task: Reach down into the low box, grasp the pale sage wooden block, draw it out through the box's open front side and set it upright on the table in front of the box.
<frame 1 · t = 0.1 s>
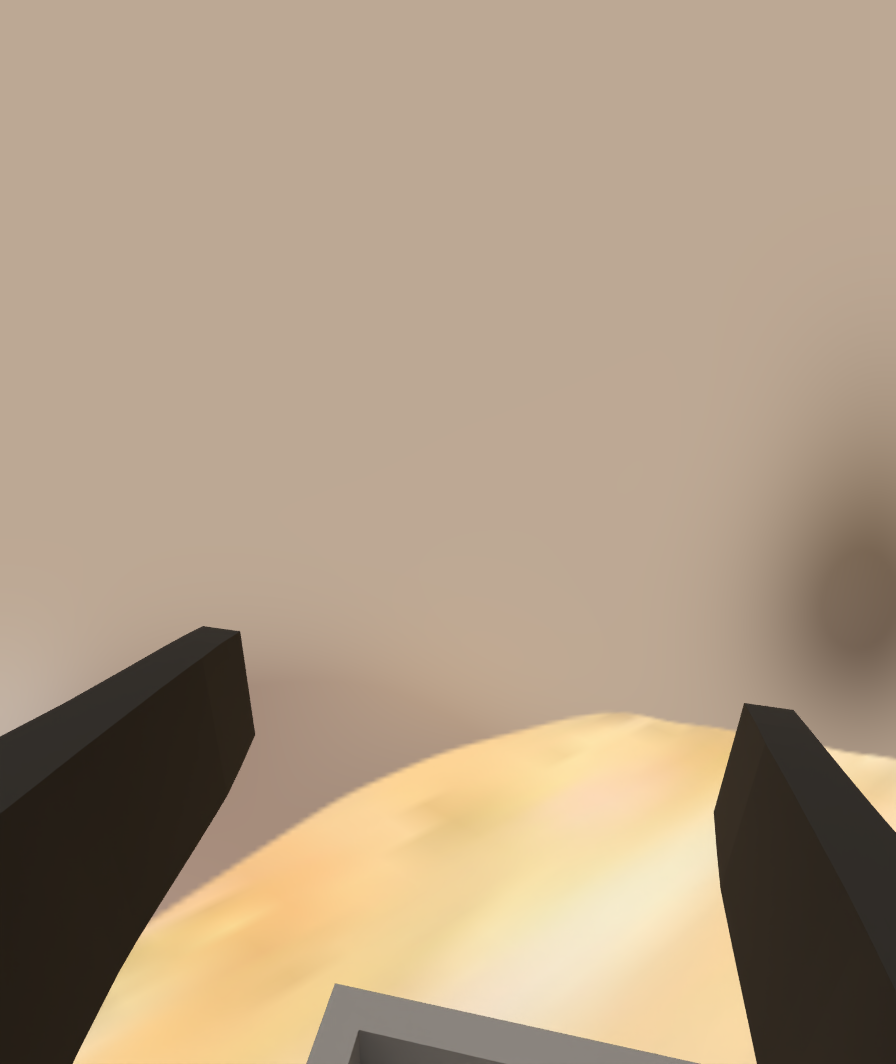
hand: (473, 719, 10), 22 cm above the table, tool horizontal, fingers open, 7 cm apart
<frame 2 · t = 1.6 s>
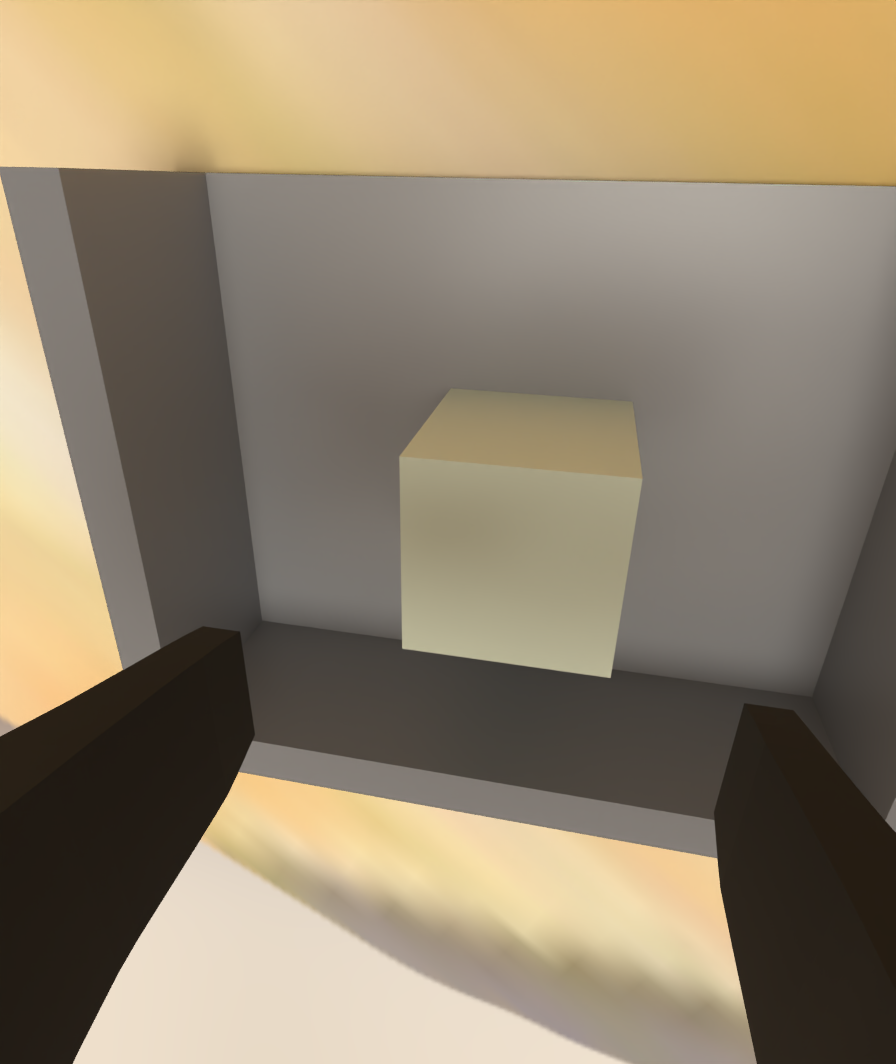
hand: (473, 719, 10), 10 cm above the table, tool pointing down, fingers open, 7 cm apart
open box: (534, 470, 19), on the table
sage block: (532, 478, 18), point 1 cm above the table, touching open box
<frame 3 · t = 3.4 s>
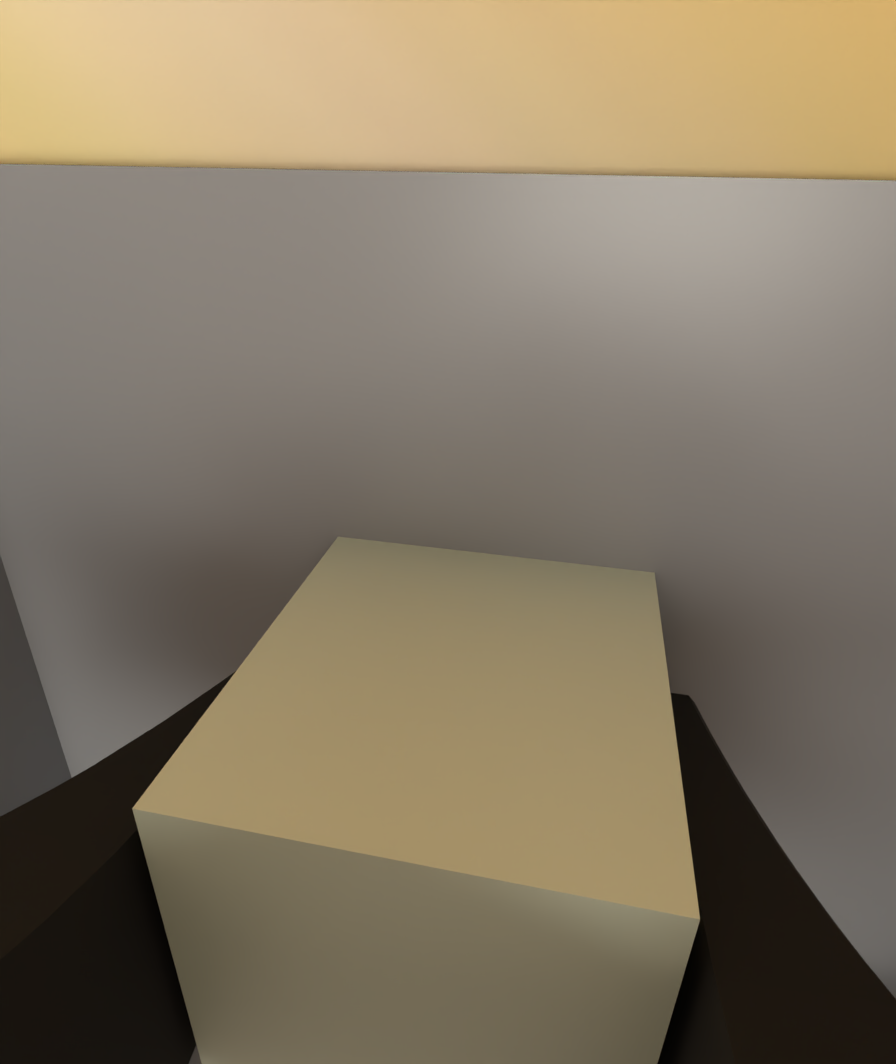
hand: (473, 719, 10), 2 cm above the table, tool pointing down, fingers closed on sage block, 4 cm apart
open box: (488, 656, 11), on the table
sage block: (483, 680, 11), point 1 cm above the table, touching gripper, open box
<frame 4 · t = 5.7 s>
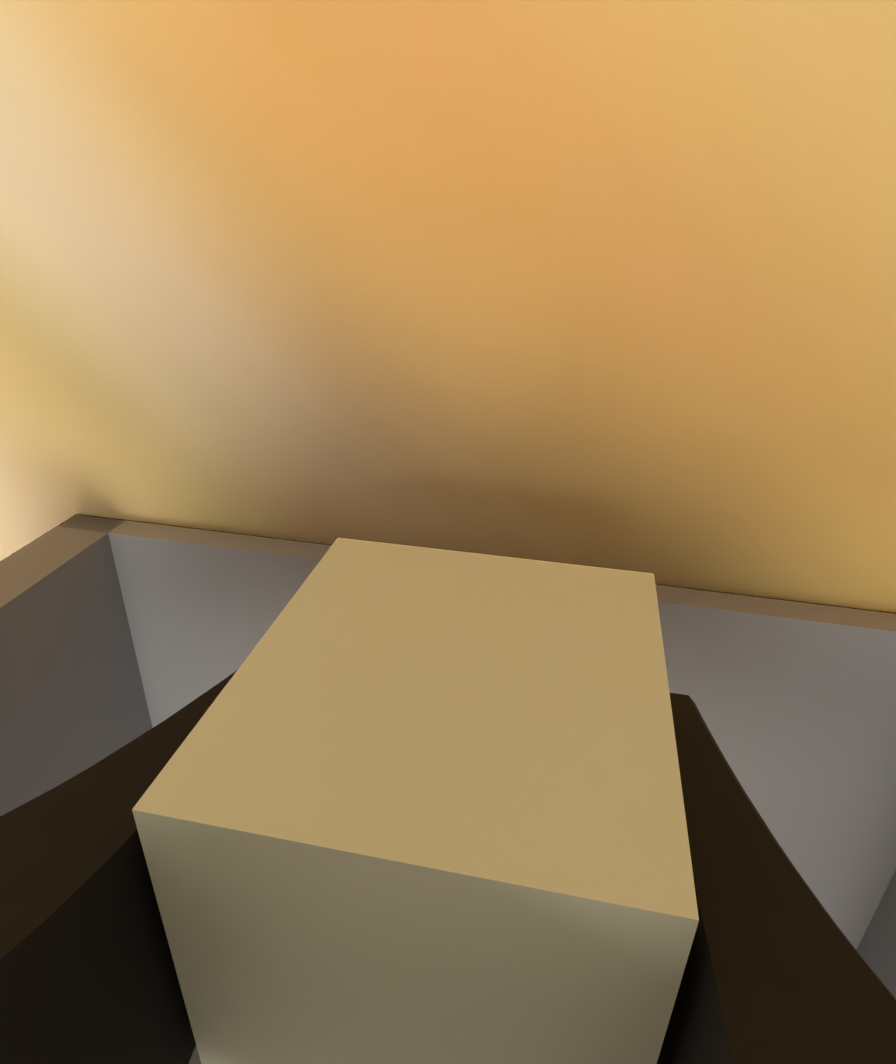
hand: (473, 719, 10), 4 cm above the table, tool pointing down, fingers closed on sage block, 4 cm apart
open box: (491, 819, 16), on the table
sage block: (482, 680, 11), point 3 cm above the table, touching gripper
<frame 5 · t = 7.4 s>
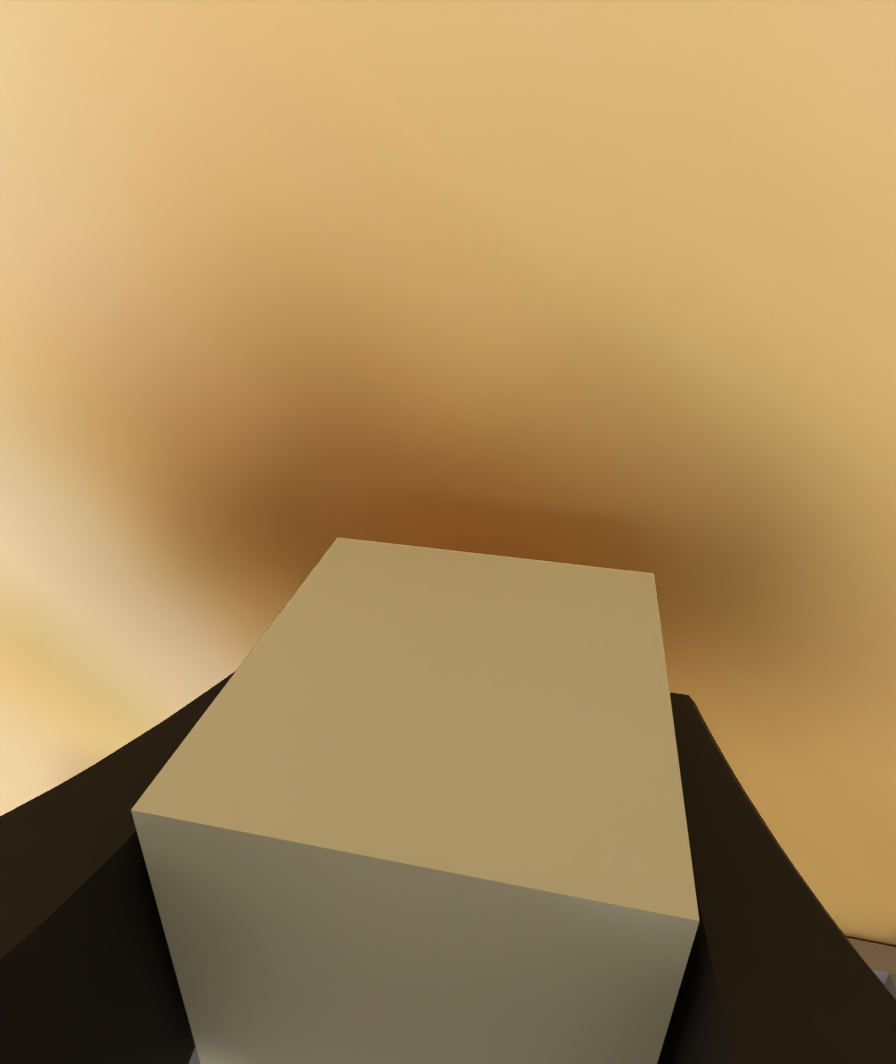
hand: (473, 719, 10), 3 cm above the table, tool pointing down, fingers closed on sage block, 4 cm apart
open box: (473, 1037, 19), on the table
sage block: (482, 680, 11), point 2 cm above the table, touching gripper
when the fingers open (2 cm above the table, at t = 8.4 s): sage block drops 1 cm, on the table.
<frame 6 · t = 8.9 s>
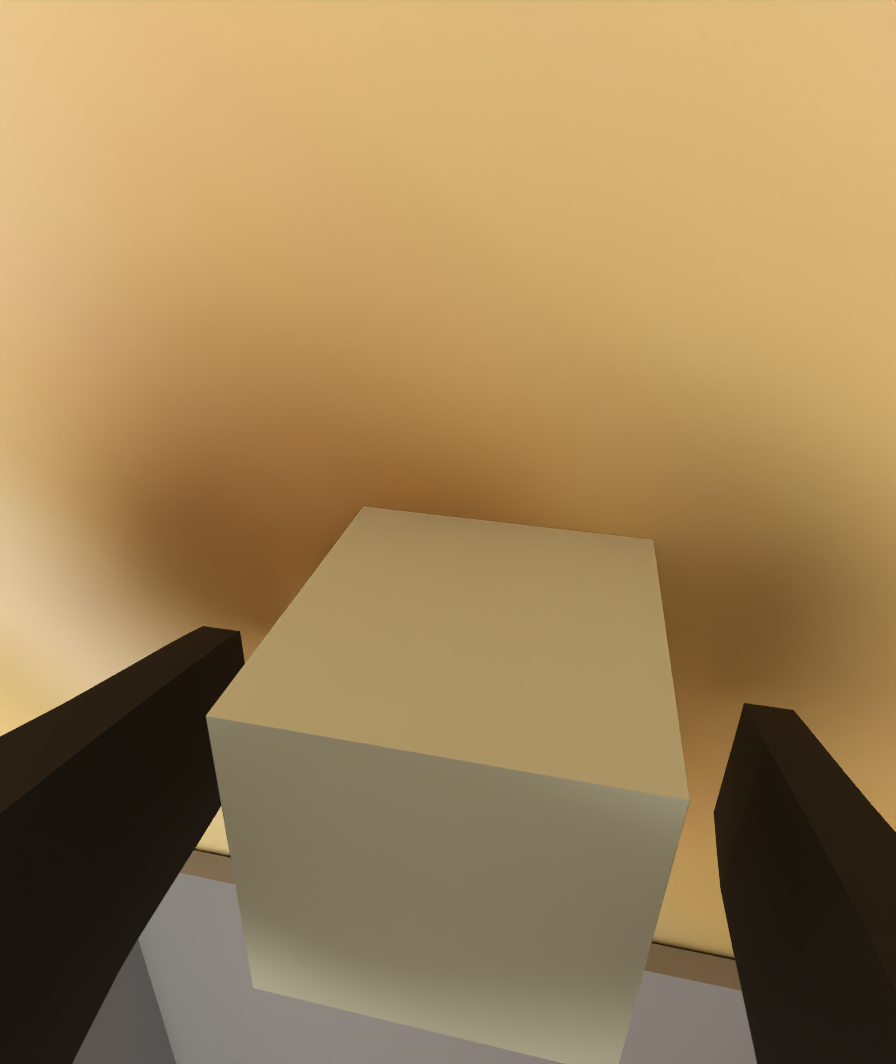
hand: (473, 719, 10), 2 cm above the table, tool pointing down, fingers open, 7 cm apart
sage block: (495, 639, 12), on the table
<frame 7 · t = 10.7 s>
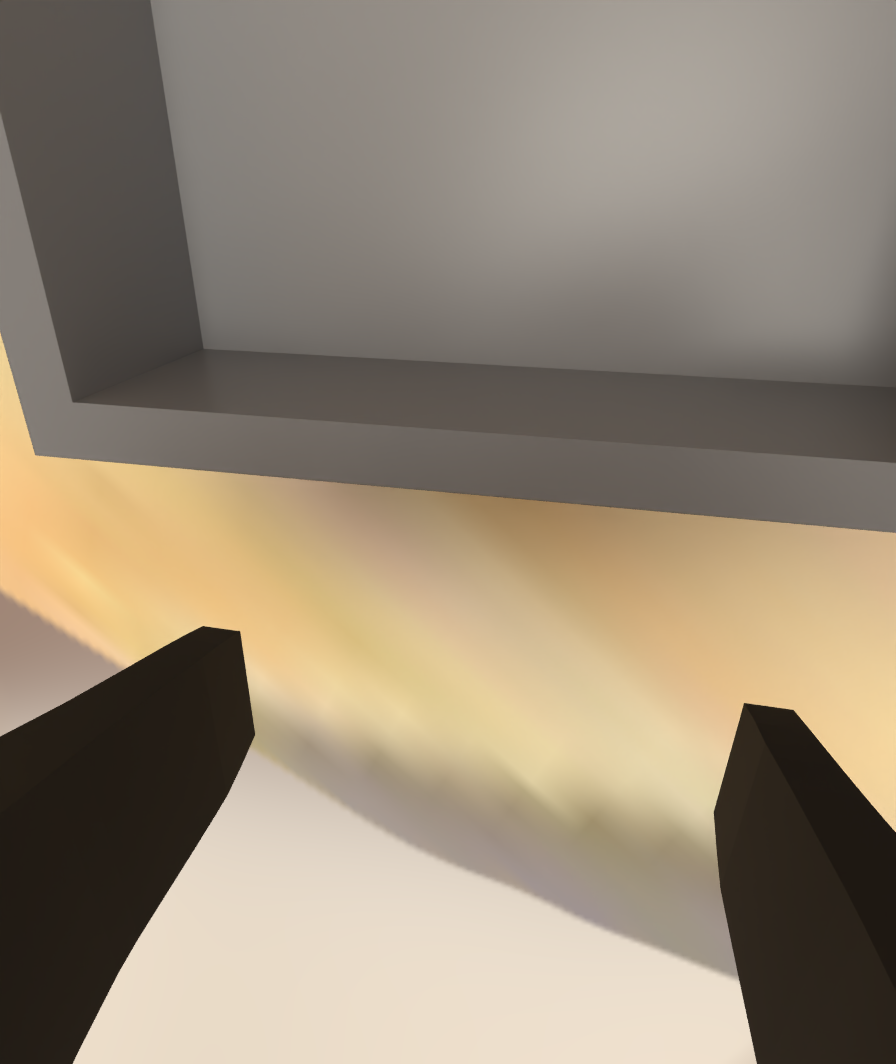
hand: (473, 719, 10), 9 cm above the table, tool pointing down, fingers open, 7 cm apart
open box: (541, 80, 14), on the table
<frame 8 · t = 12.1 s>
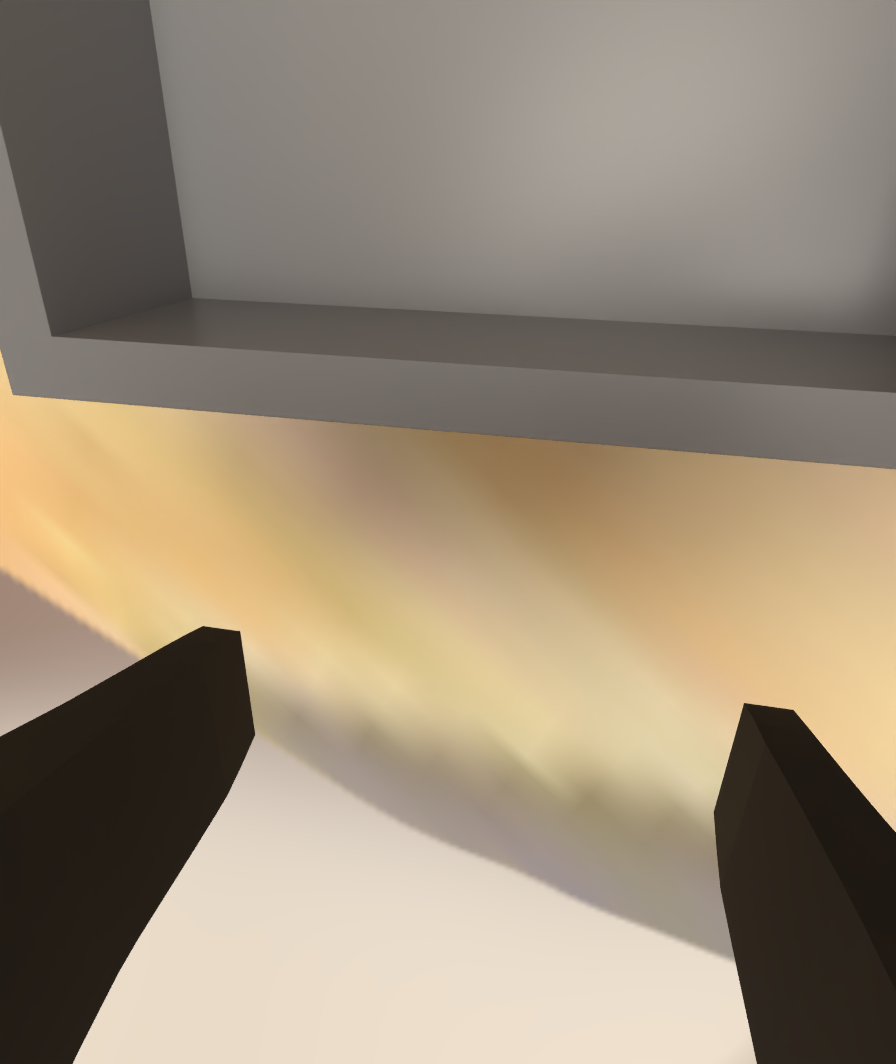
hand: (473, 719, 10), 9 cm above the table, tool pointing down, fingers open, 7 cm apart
open box: (545, 9, 14), on the table
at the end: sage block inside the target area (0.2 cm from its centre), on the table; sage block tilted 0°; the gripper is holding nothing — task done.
